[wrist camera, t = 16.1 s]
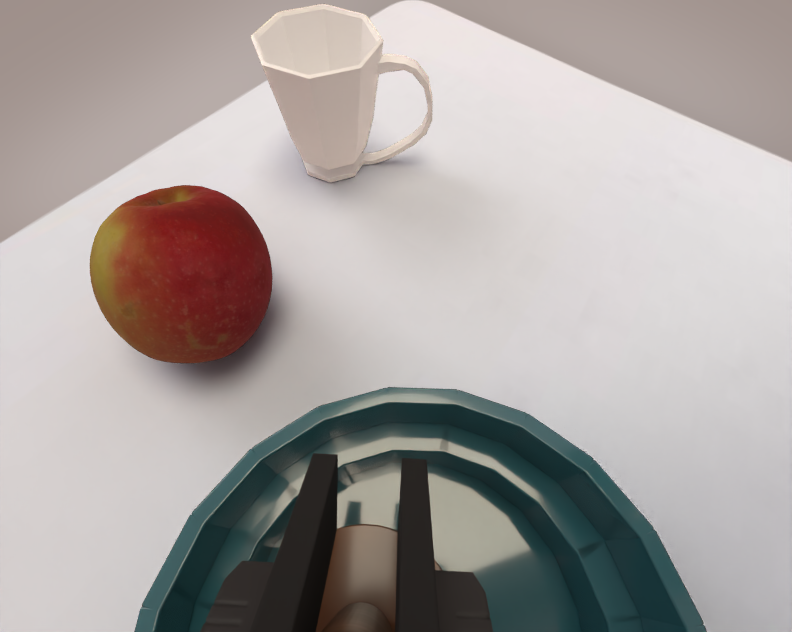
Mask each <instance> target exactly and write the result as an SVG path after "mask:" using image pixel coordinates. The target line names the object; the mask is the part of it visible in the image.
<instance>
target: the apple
mask: <svg viewBox="0 0 792 632" xmlns="http://www.w3.org/2000/svg"><path fill="white" fill-rule="evenodd" d="M90 276H91V283H92V287H93V291H94V294H95V297H96V300H97V302H98V304H99V307H100V309H101V311H102V313H103V314H104V316H105V318H106V320H107V321H108V322H109V324H110V325H111V326H112V328H113V329H114V330H115V331H116V332H117V333H118V334H119V335H120V336H121V337H122V338H123V339H124V340H125V341H126V342H127V343H128V344H130V345H131V346H132V347H133V348H135V349H136V350H138V351H139V352H141V353H143V354H145V355H146V356H148V357H150V358H153V359H156V360H160V361H165V362H172V363H200V362H207V361H212V360H217V359H220V358H223V357H226V356H228V355H230V354H232V353H233V352H235V351H236V350H238V349H239V348H240V347H241V346H242V345H244V344H245V343H246V342H247V341H248V340H249V339H250V337H251V336H252V335H253V334H254V333H255V331H256V330H257V328H258V327H259V325H260V324H261V322H262V320H263V318H264V316H265V313H266V311H267V308H268V304H269V301H270V296H271V291H272V268H271V261H270V256H269V252H268V248H267V245H266V242H265V240H264V238H263V235H262V234H261V232H260V230H259V228H258V226H257V225H256V223H255V222H254V220H253V219H252V217H251V216H250V215H249V213H248V212H247V211H246V210H245V209H244V208H243V207H242V206H241V205H240V204H239V203H237V202H236V201H234V200H233V199H231V198H230V197H228V196H226V195H224V194H222V193H220V192H218V191H214V190H211V189H208V188H205V187H201V186H190V185H181V186H174V187H170V188H164V189H158V190H154V191H151V192H148V193H146V194H143V195H140V196H137V197H135V198H133V199H132V200H130V201H128V202H126V203H124V204H122V205H121V206H119V207H118V208H117V209H116V210H115V211H114V212H113V213H112V214H111V215H110V216H109V217H108V218H107V219H106V220H105V221H104V222H103V223H102V225H101V226H100V228H99V230H98V232H97V234H96V236H95V239H94V242H93V246H92V250H91V256H90Z"/></svg>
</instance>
